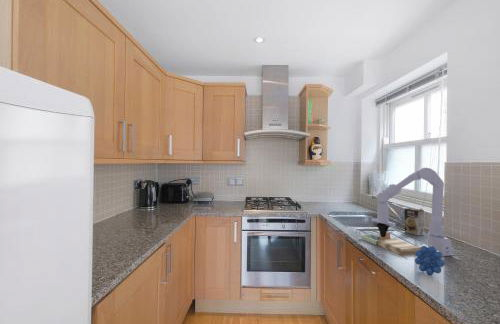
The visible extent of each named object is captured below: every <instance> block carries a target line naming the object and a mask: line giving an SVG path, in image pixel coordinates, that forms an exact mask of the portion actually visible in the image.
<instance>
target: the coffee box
mask: <svg viewBox="0 0 500 324" xmlns="http://www.w3.org/2000/svg"><path fill="white" fill-rule="evenodd" d="M424 211H425V210H424V209H417V208H411V207H409V208H408V207H407V208H404V233H407V234H410V235H415V236H424V214H425V213H424Z"/></svg>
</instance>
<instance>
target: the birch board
mask: <svg viewBox="0 0 500 324" xmlns="http://www.w3.org/2000/svg"><path fill="white" fill-rule="evenodd" d="M377 246H378V247H380V246H381V247H380V248H383V249H386V250H387V251H390V252H392V253H395V254H398V255H400V256H406V255H416V254H415V253H416V251H417V250H420V248H421V247H422V246H417V245H416V244H415V245H414V244H413V243H412V244H411V243H408V242H406V241H402V240H401V239H397V238H394V239H385V240H378V245H377Z"/></svg>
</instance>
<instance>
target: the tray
mask: <svg viewBox="0 0 500 324" xmlns="http://www.w3.org/2000/svg"><path fill="white" fill-rule="evenodd" d="M372 234H373V233H366V234H360V236H359V237H360V238H361V239H360V240H362V239H363V240H362V241H364V240H365V242H367V241H368V242H367V243H369V242H370V243H369V244H371V243H372V245H374V246H378V240H374V239H372ZM390 239H395V238H394V237H391V236H390Z"/></svg>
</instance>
